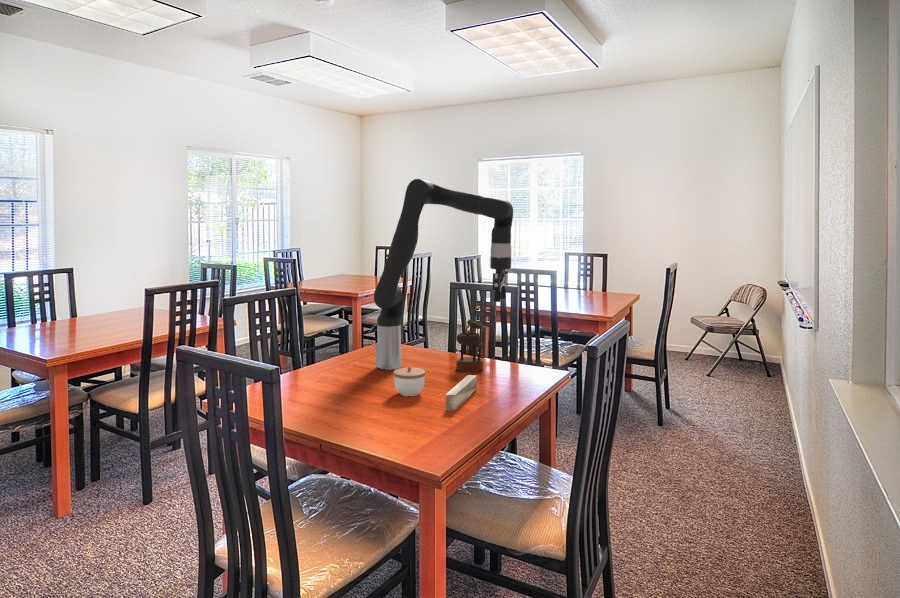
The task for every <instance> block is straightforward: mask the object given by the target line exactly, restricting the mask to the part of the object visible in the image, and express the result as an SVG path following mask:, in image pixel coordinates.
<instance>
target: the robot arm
mask: <svg viewBox="0 0 900 598" xmlns="http://www.w3.org/2000/svg"><path fill="white" fill-rule="evenodd" d="M425 205H440V206H446V207H450V208H453V209H456V210H458V211H462V212H465V213H470V214H473V215H480V216H484V217H487V218H490V219H494V221H493V222H494V223H493V228H492V229H491V240H490V241H491V245H490V258H489V259H490V263H489V264H490V266H489V267H490V268H489V269H492V270H495V273H494V272H493V273H492V291H494V292H493V293H494V294H493V295H494V296H493V301H494V302H495V303H500V302H501V301H502V300H506V297H507V294H506V293H507V288H508V285H509V283H508V282H509V281H508V277H509V271H508V270H511V268H512V225H513V219H514V207H513V205H512V203H511V202H510V201H509V200H506V199H498V198H492V197H489V196H488V197H487V196H485V195H480V194H478V193H472V192H468V191H461V190H454V189H449V188H446V187H443V186H440V185H438V184H436V183H433V182H432V181H429V180H426V179H424V178H415V179H413V180H411V181H410V182H409V183H408V184H407V187H406V190H405V194H404V199H403V204H402V209H401V213H400V217H399V219H398V222H397V225H396V227H395V231H394V234H393V237H392V240H391V243H390V247H389V251H388V254H387V257H386V260H385V264H384V267H383V271H382V272H381V273H382V274H381V276H380V277H379V280H378V283H377V285H376V287H375V290H374V292H373V300H374V304H375V305H376V307H378V308H380V313H379V315H378V317H377V319H376V320H377V321H376V322H377V323H376V327H377V328H376V329H377V330H376V331H377V333H376V335H377V342H376V344H375V368H376V367H377V368H376V369H379V368H380V370H383V369H385V370H384V371H395V370H397V369H400V368H402V326H401V325H402V323H401V322H402V318H403V313H404V309H403V308H404V295H403V291H402V289H401V287H400V286H399V282H400V281H401V280H400V279H401V277H402V276H403V273H404V272H405V270H406V268H408V265H409V264H410V262H411V260H412V258H413V256H414V253H415V250H416V247H417V244H418V240H419V221H420V217H421V213H422V211H423V209H424V206H425Z"/></svg>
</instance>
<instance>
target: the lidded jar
mask: <svg viewBox="0 0 900 598" xmlns="http://www.w3.org/2000/svg"><path fill="white" fill-rule="evenodd" d="M392 373H393V374H392V376H393V383H394V388H395V390H396V391H397V392H398V393H399V394H400V396H402V395H403V397H407V396H410V397H416V396H418V395H419V393H421V392H422V391H423V389H424V387H425V382H426V370H425V369H423V368H420V367H412V366H409V365H408V366H407V367H401V368H399V369H395V370H393V371H392Z"/></svg>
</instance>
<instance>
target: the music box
mask: <svg viewBox="0 0 900 598" xmlns="http://www.w3.org/2000/svg"><path fill="white" fill-rule="evenodd" d="M466 323H467V327H466V328H469V327H471V328H473V330H474V329H476V332H473V331H472V332H471V330H470V329H467V330H466V331H465V332H459V333H458V334H457V336H456V338H455V339H456V342H457V343H458V344H459V345H460V349H457V347H448V350H454V351H455V353H458V352H459V353H460V358H458V359H457V360H456V364H455V365H456V371H458V372H462V373H478V372H482V371H483V370H484V361H483V360H482V359H485V353H483V352H484V351H483V349H481V351H480V352H479V349H476V348H477V347H478V348H485V347H486V344H485V343H480V341H481V336H480V333H479V330H480V329H481V330H483V328H484V329H487V328H488V326H485V325H483V324H481V323H479V322H478V321H473V319H468V320H467V322H466ZM464 346H466V349H465V350H464ZM470 346H472V348H473V349H472V350H471V349H470ZM464 353H465V354H466V355H470V354H471V356H466V357H465V356H464Z"/></svg>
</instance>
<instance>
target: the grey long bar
mask: <svg viewBox="0 0 900 598" xmlns="http://www.w3.org/2000/svg"><path fill="white" fill-rule="evenodd" d="M477 378H478V376H477V375H476V374H475V375H474V374H473V375H472V374H468V375H466V376H465V377H464V378H463V379H462V380H460V382H458V383H457V384H455V385H454V387H452V388H451V389H450V390H449V391H448V392H447V393H446V394H445V411H450V412H455V411H457V410H458V409H459V408H460V407H461V405H463V404H464V403H465V402H466V401H467V400H468V399H469V398H470V397H471V396H472V395H473V394H474V393H475V392H476V391H477V390H478V389H477V381H478V379H477ZM475 390H476V391H475ZM474 391H475V392H474ZM473 392H474V393H473ZM472 393H473V394H472ZM471 394H472V395H471Z"/></svg>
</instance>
